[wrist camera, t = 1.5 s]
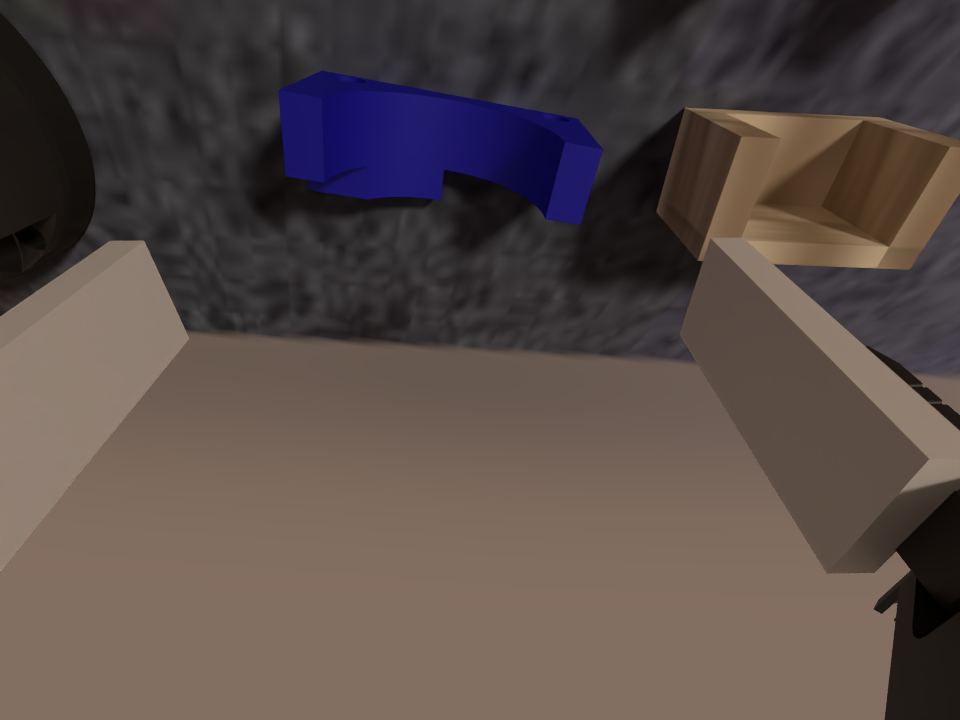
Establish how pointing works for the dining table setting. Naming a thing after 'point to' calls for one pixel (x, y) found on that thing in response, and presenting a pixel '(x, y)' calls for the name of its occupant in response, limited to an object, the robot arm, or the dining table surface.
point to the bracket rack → (809, 186)
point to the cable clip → (431, 144)
